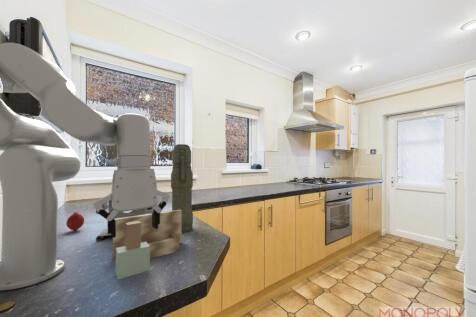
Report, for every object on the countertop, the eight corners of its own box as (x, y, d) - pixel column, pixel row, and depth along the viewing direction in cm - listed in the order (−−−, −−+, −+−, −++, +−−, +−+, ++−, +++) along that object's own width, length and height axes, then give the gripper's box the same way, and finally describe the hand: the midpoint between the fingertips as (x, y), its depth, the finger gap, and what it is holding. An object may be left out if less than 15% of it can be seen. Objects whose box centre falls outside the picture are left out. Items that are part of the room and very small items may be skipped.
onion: (83, 231, 84) (84, 211, 85) (65, 234, 81) (65, 213, 81) (84, 227, 89) (84, 209, 89) (67, 230, 86) (67, 210, 86)
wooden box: (116, 267, 54) (116, 224, 54) (112, 257, 60) (113, 218, 60) (189, 248, 66) (189, 213, 66) (179, 241, 72) (179, 209, 72)
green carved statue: (173, 235, 78) (173, 143, 80) (168, 227, 89) (169, 145, 90) (196, 231, 82) (196, 143, 83) (189, 224, 93) (189, 146, 94)
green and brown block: (117, 279, 48) (118, 227, 49) (115, 272, 51) (116, 223, 52) (149, 270, 52) (150, 222, 53) (145, 264, 56) (146, 219, 56)
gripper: (93, 164, 45) (94, 244, 44) (173, 162, 55) (174, 227, 54) (91, 164, 51) (92, 236, 50) (163, 163, 61) (165, 222, 60)
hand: (135, 231), depth 52 cm, fingers open, 9 cm apart
